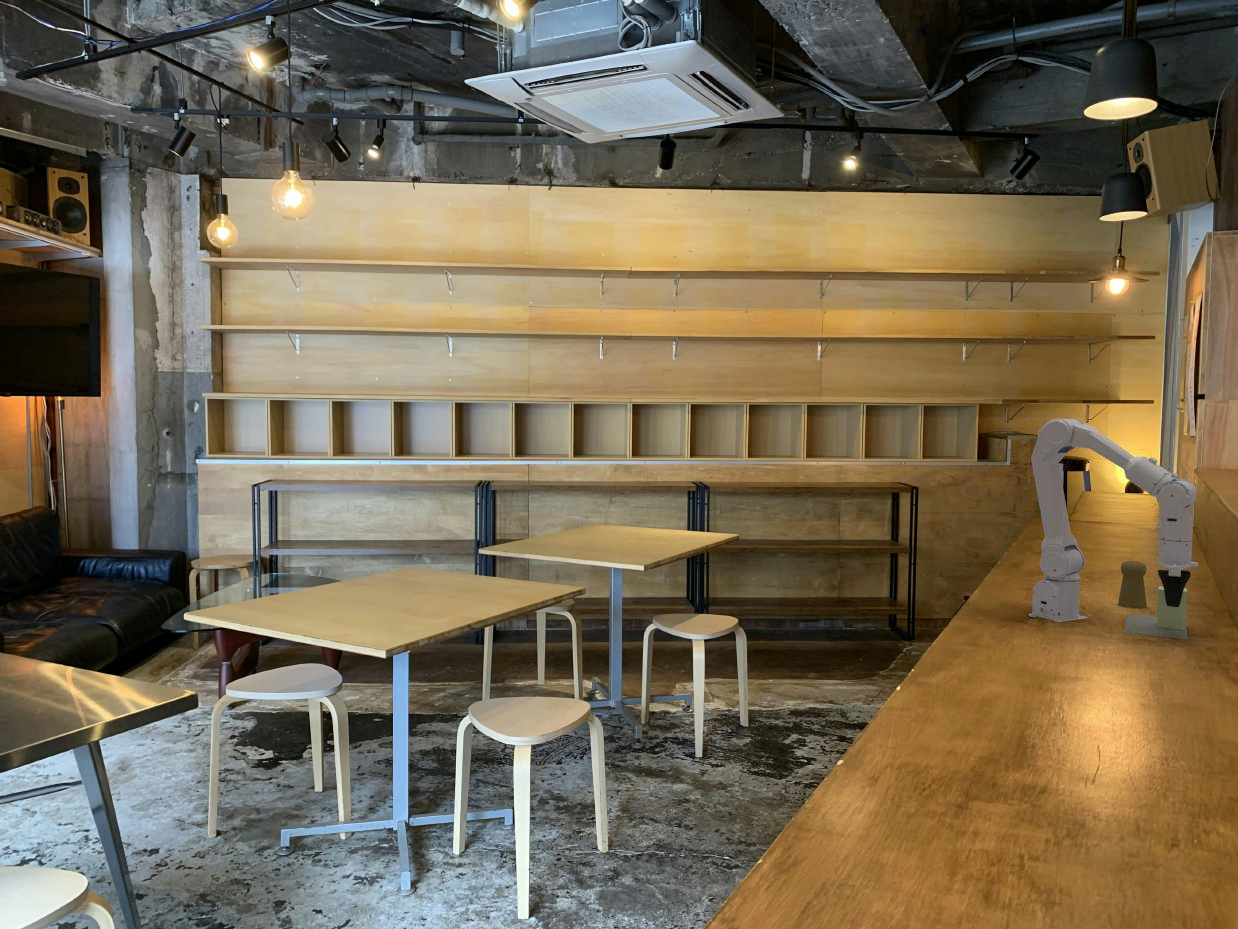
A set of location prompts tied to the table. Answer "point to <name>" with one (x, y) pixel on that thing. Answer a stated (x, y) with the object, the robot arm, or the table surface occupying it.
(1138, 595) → the cork
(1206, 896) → the table surface
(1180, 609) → the block
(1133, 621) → the mat
